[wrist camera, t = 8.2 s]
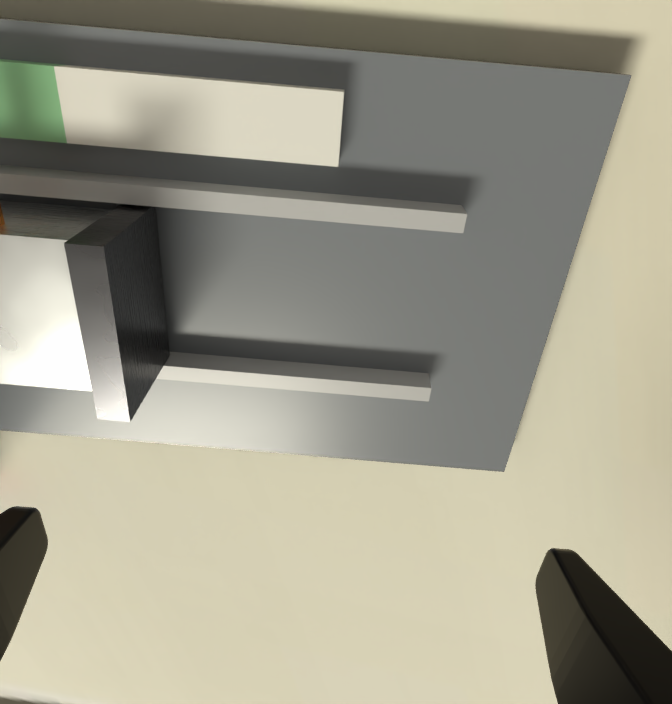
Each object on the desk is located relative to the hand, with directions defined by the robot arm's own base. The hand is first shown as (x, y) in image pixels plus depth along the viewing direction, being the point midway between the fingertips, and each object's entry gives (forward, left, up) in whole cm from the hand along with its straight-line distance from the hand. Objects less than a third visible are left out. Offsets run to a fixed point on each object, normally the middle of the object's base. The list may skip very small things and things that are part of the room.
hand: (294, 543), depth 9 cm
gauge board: (+4, 0, -12) cm, 12 cm away
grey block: (+9, -2, -10) cm, 14 cm away
